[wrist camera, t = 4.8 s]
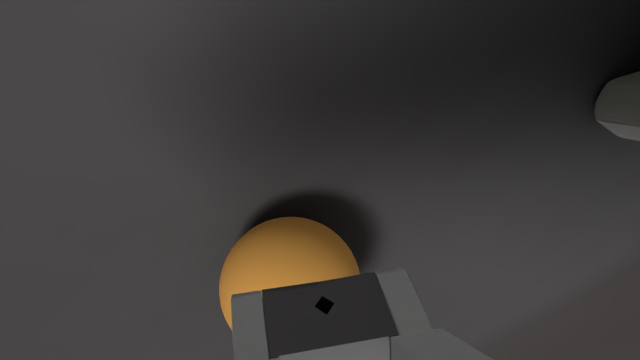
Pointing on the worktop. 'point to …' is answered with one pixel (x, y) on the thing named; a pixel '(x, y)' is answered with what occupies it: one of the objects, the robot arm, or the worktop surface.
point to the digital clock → (620, 106)
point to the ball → (283, 258)
